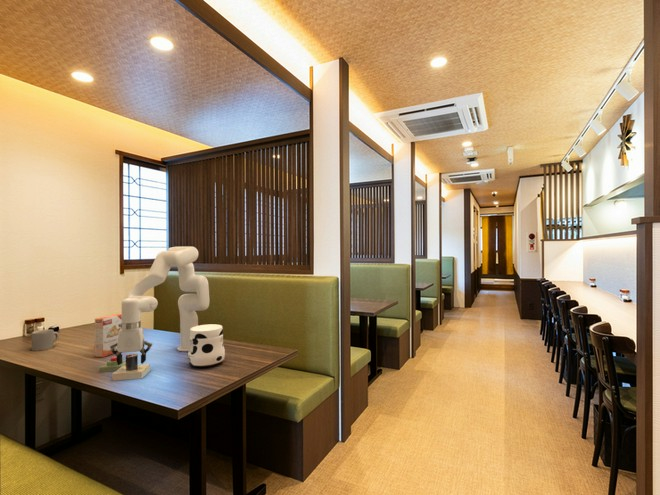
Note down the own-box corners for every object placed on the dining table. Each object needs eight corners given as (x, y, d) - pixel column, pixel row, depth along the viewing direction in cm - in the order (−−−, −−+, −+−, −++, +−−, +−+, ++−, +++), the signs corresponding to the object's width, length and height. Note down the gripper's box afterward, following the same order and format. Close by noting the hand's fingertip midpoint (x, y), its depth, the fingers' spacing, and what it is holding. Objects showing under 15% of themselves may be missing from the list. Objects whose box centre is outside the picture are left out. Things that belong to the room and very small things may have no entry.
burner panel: (150, 370, 160) (149, 363, 160) (142, 378, 150) (141, 371, 150) (122, 372, 158) (122, 365, 158) (112, 380, 148) (112, 373, 148)
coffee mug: (35, 351, 193) (35, 334, 194) (28, 349, 199) (28, 332, 199) (63, 345, 205) (63, 329, 205) (56, 343, 210) (56, 327, 210)
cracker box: (103, 357, 180) (103, 318, 180) (94, 357, 181) (93, 318, 182) (124, 350, 194) (124, 313, 194) (115, 349, 195) (115, 313, 195)
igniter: (129, 364, 168) (129, 356, 168) (122, 370, 160) (122, 362, 160) (107, 366, 167) (107, 358, 167) (99, 372, 159) (99, 363, 159)
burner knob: (139, 366, 156) (139, 352, 157) (135, 370, 152) (135, 356, 152) (128, 367, 156) (128, 353, 156) (123, 370, 151) (123, 356, 151)
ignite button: (120, 359, 166) (120, 355, 166) (117, 361, 162) (117, 358, 162) (112, 359, 165) (112, 356, 165) (109, 362, 161) (109, 358, 161)
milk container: (231, 359, 174) (231, 324, 174) (212, 371, 157) (212, 332, 158) (201, 357, 178) (201, 323, 178) (180, 368, 161) (179, 331, 162)
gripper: (106, 328, 149) (106, 367, 148) (148, 326, 152) (149, 364, 151) (114, 325, 156) (114, 362, 156) (154, 323, 159) (154, 359, 159)
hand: (131, 363), depth 154 cm, fingers open, 9 cm apart
